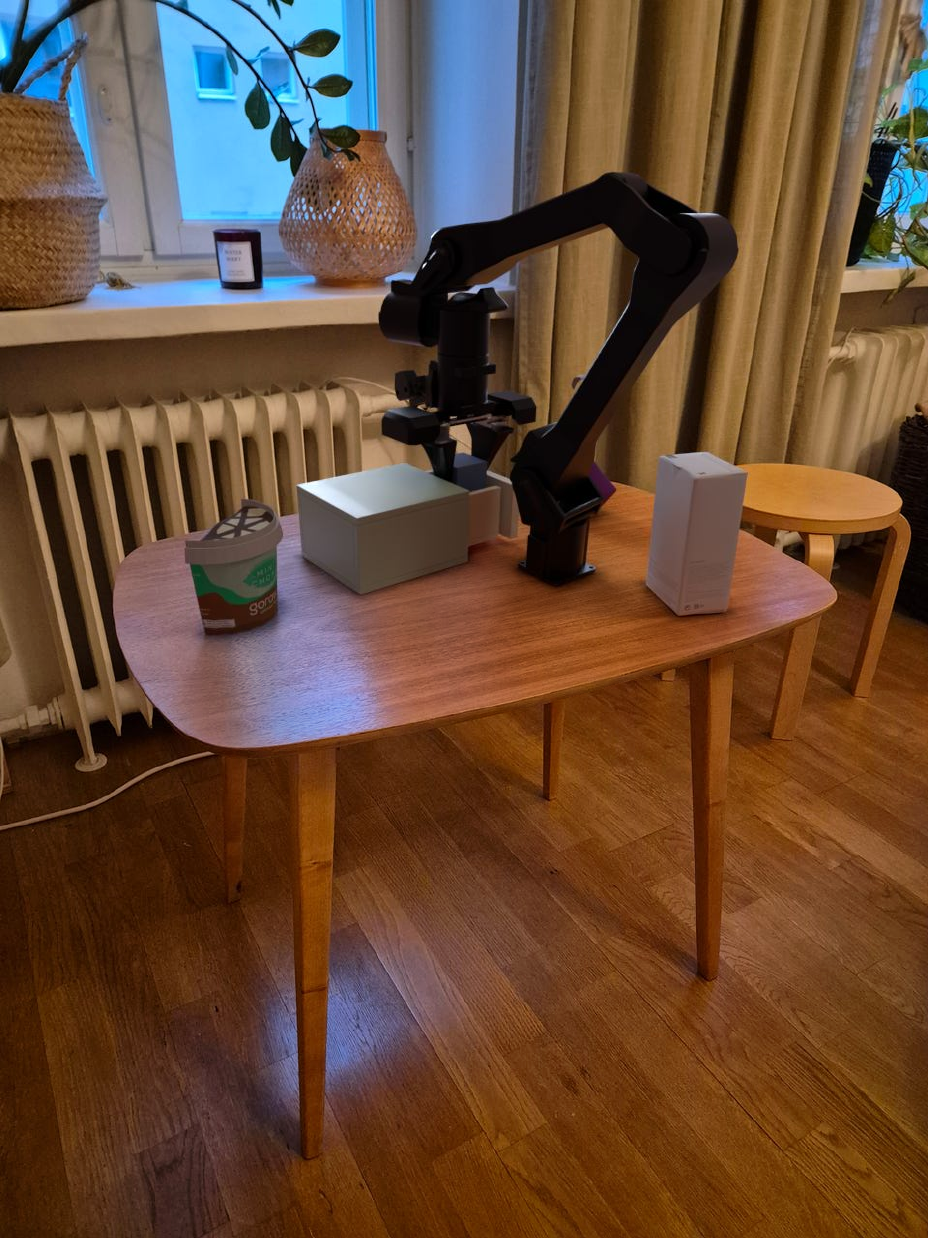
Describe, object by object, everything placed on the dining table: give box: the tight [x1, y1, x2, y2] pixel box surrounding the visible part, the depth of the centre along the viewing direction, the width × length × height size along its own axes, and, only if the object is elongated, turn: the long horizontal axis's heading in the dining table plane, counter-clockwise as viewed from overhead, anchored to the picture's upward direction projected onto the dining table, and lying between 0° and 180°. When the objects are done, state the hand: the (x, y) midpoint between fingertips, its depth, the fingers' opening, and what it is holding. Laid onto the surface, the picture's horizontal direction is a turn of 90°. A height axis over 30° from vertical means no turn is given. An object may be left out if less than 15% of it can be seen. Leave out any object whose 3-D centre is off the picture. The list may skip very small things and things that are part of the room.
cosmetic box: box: [645, 451, 749, 616], centre depth 81 cm, size 8×6×15 cm
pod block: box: [434, 452, 487, 492], centre depth 95 cm, size 4×4×4 cm
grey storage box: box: [296, 462, 469, 596], centre depth 90 cm, size 15×13×9 cm
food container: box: [184, 497, 284, 636], centre depth 77 cm, size 12×6×10 cm, turn 168°
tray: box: [424, 468, 520, 547], centre depth 96 cm, size 18×11×7 cm, turn 129°
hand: (460, 488), depth 95 cm, fingers closed on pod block, 4 cm apart
